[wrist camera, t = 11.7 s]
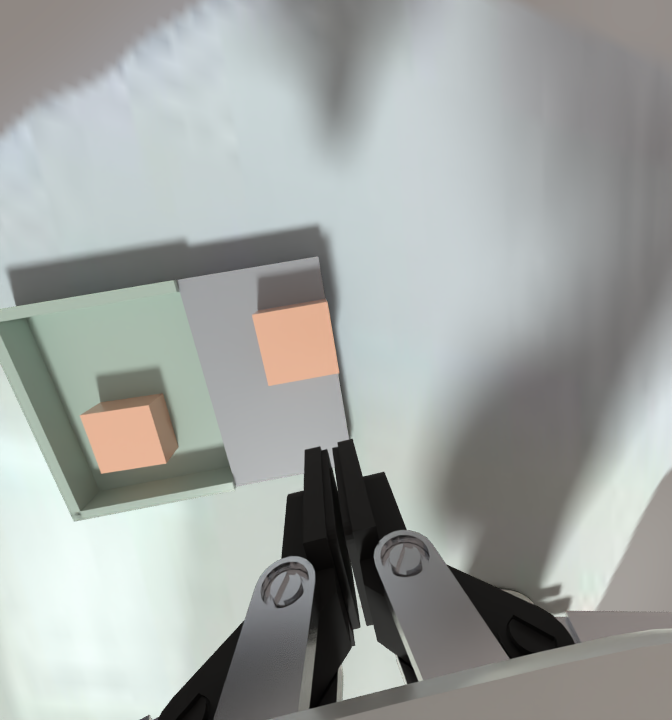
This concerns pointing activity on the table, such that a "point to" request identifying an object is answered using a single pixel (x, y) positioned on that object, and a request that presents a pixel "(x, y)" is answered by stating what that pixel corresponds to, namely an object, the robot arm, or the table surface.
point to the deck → (260, 371)
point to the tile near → (296, 342)
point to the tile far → (130, 433)
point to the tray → (113, 393)
